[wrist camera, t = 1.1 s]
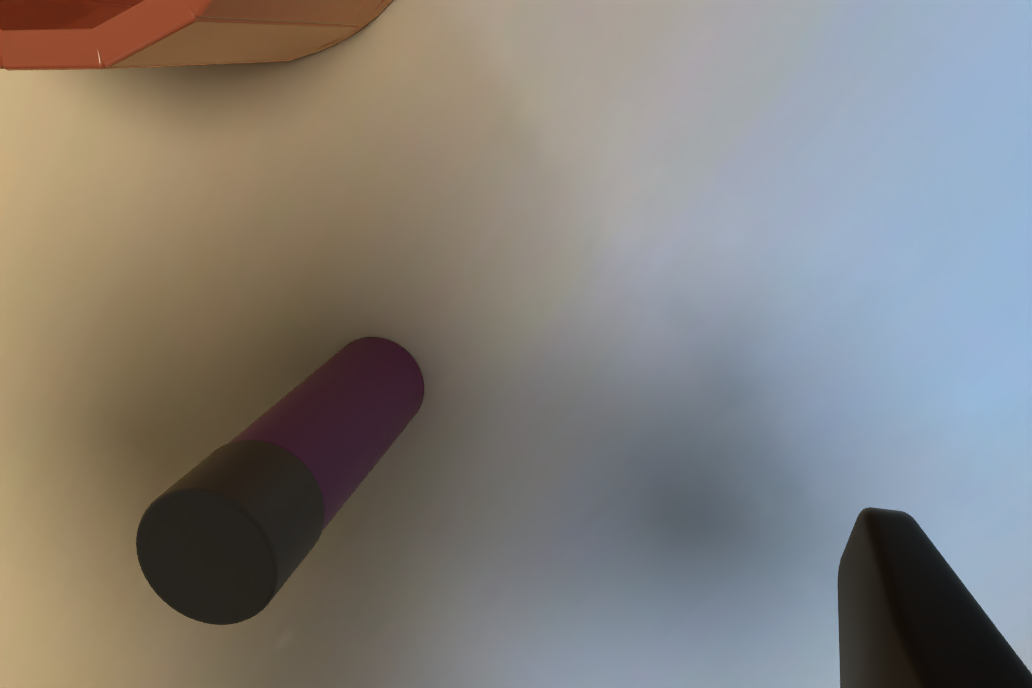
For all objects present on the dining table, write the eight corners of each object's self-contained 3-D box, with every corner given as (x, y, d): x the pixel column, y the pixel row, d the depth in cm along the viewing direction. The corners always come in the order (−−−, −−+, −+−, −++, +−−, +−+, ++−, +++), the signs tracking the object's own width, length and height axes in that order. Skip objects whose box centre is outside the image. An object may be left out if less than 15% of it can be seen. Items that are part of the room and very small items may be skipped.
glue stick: (382, 449, 24) (216, 653, 16) (310, 379, 24) (106, 550, 16) (447, 387, 23) (306, 570, 15) (373, 314, 23) (191, 460, 15)
